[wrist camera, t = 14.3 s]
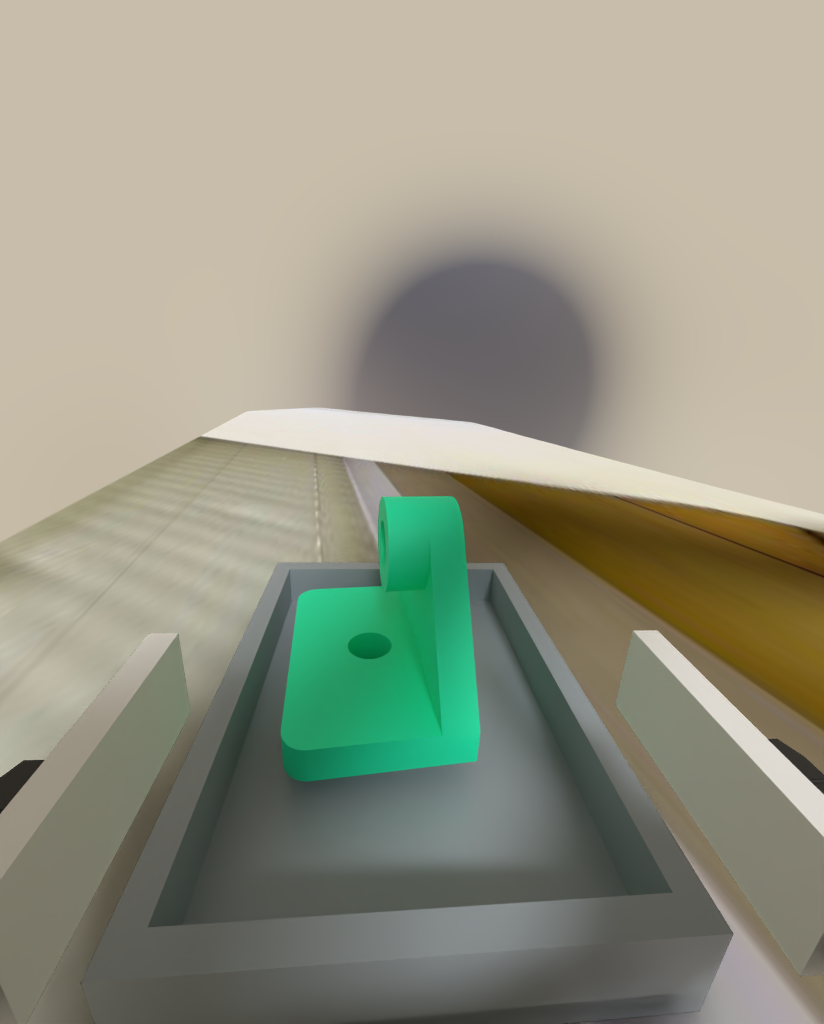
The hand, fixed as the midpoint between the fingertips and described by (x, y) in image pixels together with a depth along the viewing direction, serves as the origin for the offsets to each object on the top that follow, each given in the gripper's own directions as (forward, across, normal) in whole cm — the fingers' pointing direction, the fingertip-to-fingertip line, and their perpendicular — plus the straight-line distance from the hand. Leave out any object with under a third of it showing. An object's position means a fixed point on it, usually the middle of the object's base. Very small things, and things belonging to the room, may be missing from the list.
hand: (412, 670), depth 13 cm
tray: (+7, 0, -9) cm, 11 cm away
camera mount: (+8, -1, -8) cm, 11 cm away
